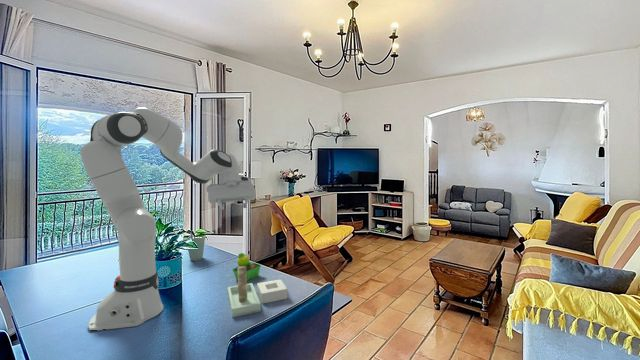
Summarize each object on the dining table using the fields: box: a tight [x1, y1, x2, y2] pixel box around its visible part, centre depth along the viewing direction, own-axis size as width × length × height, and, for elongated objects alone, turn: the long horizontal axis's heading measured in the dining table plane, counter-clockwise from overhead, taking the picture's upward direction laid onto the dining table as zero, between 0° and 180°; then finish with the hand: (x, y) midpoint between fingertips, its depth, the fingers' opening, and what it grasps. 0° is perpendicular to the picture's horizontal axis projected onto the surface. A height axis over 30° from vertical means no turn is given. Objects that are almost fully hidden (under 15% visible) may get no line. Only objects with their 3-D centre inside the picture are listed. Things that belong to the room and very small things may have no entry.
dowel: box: [237, 266, 248, 302], centre depth 115 cm, size 3×3×13 cm
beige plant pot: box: [187, 236, 206, 262], centre depth 165 cm, size 11×11×15 cm
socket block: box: [256, 278, 288, 304], centre depth 121 cm, size 10×10×4 cm
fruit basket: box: [232, 252, 262, 281], centre depth 139 cm, size 11×9×11 cm
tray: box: [227, 282, 262, 318], centre depth 116 cm, size 10×19×3 cm, turn 21°
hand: (233, 208), depth 128 cm, fingers open, 8 cm apart
